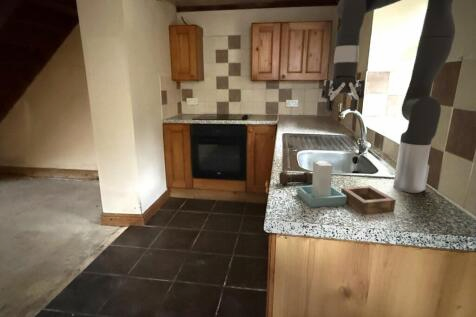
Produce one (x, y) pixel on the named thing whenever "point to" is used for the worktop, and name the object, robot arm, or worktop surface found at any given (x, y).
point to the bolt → (295, 178)
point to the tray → (312, 202)
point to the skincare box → (321, 179)
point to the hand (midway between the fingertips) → (341, 111)
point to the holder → (367, 207)
